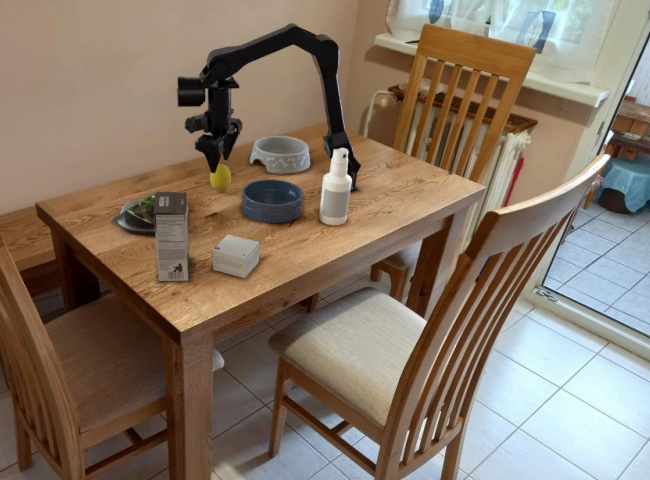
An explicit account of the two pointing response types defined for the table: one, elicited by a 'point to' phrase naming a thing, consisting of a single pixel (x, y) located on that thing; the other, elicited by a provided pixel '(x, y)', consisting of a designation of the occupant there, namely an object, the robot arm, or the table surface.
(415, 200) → the table surface
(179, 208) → the coffee box
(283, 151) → the dog bowl
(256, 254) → the small box
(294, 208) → the bowl
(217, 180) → the lemon
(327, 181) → the spray bottle
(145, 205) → the salad plate
